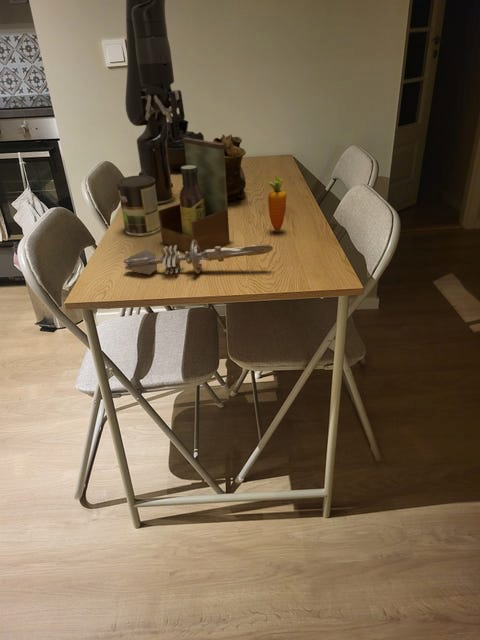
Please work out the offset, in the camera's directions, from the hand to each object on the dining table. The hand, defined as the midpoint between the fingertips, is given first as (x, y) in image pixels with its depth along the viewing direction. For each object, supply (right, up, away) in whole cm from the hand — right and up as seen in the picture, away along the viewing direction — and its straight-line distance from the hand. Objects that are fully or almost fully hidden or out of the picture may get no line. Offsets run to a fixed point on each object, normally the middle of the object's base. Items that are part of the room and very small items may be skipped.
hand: (165, 137), depth 113 cm
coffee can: (-10, -18, +23) cm, 31 cm away
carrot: (+28, -19, +17) cm, 38 cm away
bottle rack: (+6, -23, +13) cm, 27 cm away
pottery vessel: (+15, -2, +46) cm, 48 cm away
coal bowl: (-6, +18, +80) cm, 82 cm away
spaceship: (+8, -32, -2) cm, 33 cm away
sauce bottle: (+6, -23, +13) cm, 27 cm away
